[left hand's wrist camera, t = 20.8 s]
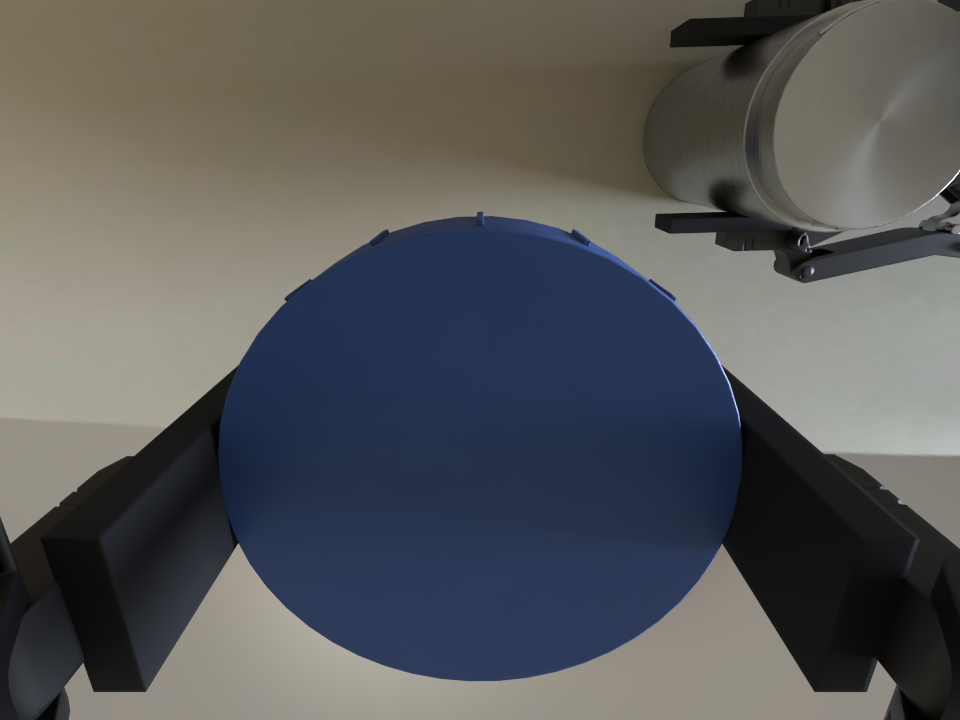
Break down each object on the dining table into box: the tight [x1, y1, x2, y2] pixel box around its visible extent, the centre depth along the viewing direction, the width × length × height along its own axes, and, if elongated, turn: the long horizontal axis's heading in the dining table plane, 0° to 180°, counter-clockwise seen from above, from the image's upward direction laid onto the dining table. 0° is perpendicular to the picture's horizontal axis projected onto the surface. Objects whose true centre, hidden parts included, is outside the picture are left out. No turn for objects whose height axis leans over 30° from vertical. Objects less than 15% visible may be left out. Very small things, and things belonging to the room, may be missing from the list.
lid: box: [218, 212, 743, 681], centre depth 11 cm, size 10×10×2 cm
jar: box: [644, 0, 960, 232], centre depth 27 cm, size 8×8×16 cm
